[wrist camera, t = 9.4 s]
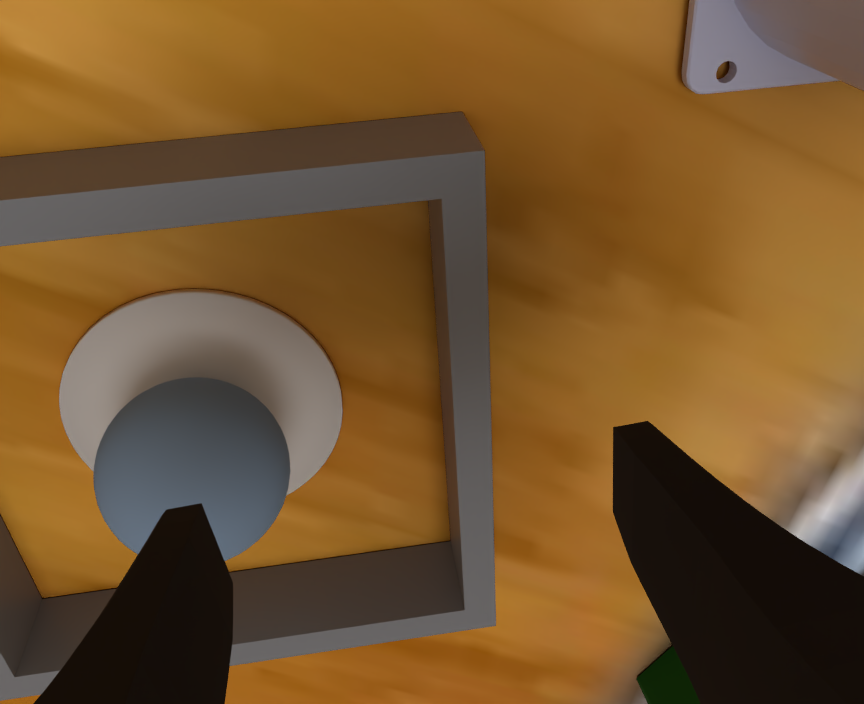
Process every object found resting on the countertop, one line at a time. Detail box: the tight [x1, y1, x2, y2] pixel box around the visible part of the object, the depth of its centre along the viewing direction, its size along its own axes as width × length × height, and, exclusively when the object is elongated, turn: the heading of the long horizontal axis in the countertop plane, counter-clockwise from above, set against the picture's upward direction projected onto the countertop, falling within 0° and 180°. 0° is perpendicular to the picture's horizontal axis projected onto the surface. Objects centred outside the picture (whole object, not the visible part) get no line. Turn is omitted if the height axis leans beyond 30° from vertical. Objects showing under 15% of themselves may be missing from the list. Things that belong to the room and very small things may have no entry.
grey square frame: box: [0, 112, 496, 701], centre depth 22 cm, size 16×16×3 cm
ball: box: [94, 377, 290, 561], centre depth 21 cm, size 5×5×5 cm
